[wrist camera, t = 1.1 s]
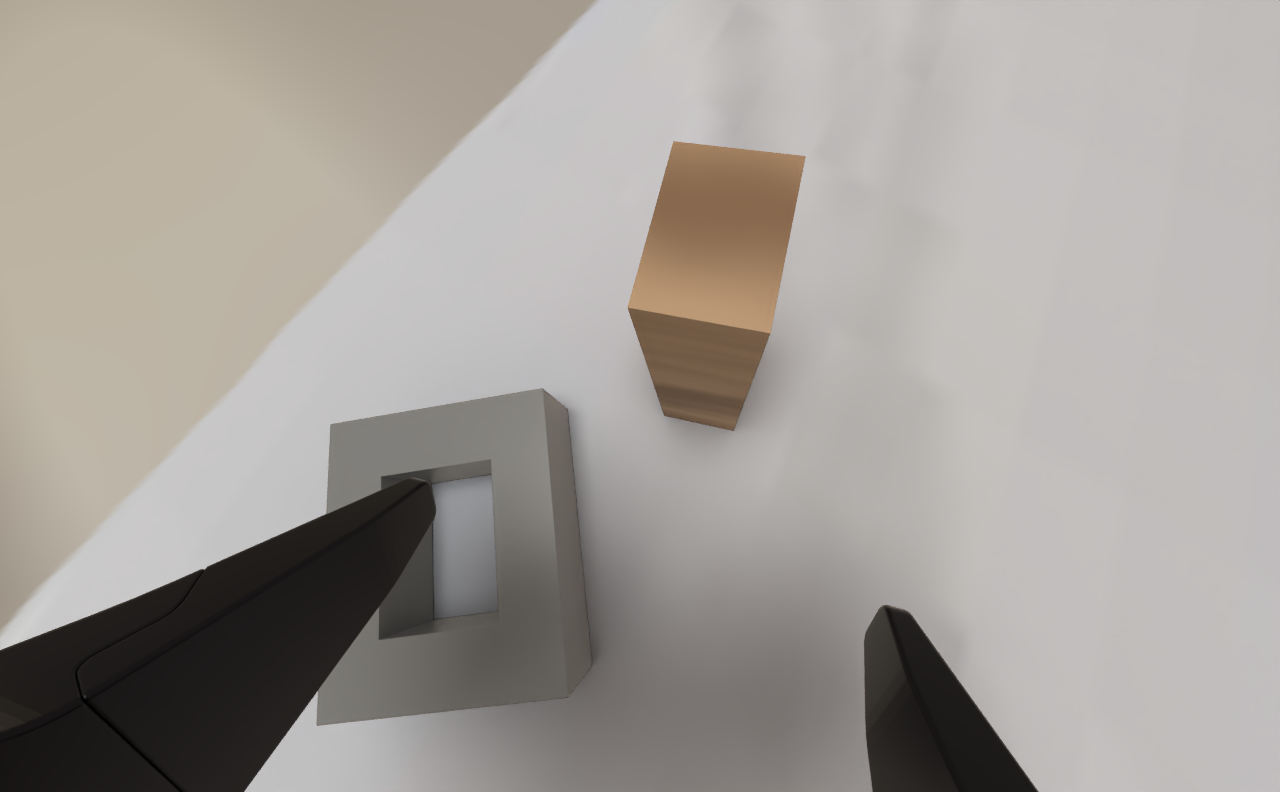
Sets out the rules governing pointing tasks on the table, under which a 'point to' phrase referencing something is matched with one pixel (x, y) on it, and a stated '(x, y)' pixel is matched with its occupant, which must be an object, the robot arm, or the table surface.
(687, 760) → the table surface
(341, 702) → the grey block with slot
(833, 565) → the table surface
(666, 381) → the brown wooden block
